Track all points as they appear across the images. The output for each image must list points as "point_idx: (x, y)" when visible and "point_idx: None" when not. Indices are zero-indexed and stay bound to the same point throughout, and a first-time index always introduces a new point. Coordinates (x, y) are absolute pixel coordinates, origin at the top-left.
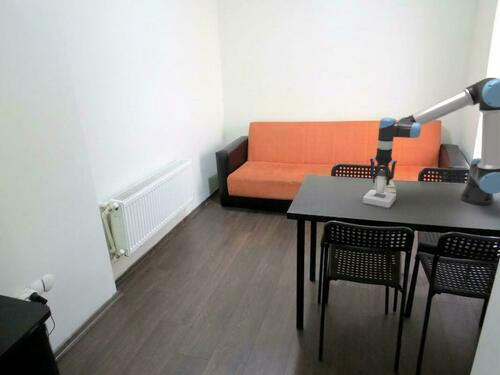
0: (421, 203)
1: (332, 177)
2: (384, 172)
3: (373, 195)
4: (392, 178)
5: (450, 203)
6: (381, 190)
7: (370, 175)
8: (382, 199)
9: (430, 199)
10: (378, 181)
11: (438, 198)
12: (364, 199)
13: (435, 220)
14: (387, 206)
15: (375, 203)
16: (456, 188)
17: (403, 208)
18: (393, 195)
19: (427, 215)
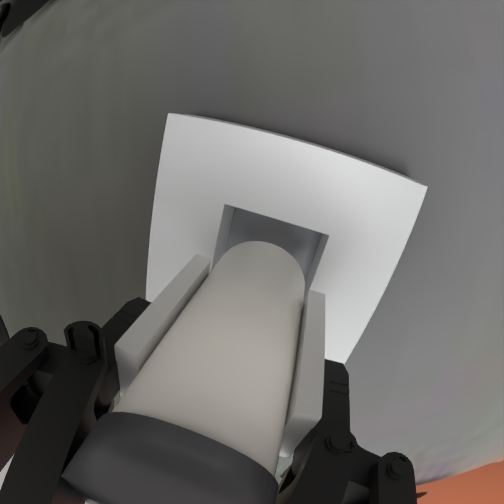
0: (55, 262)
1: (457, 469)
2: (78, 485)
3: (324, 256)
4: (17, 333)
5: (3, 280)
6: (234, 258)
7: (405, 463)
8: (234, 165)
9: (47, 314)
10: (260, 346)
11: (35, 325)
12: (407, 177)
13: (11, 74)
14: (200, 116)
15: (302, 140)
16: None
17: (109, 157)
18: (156, 286)
19: (25, 112)
